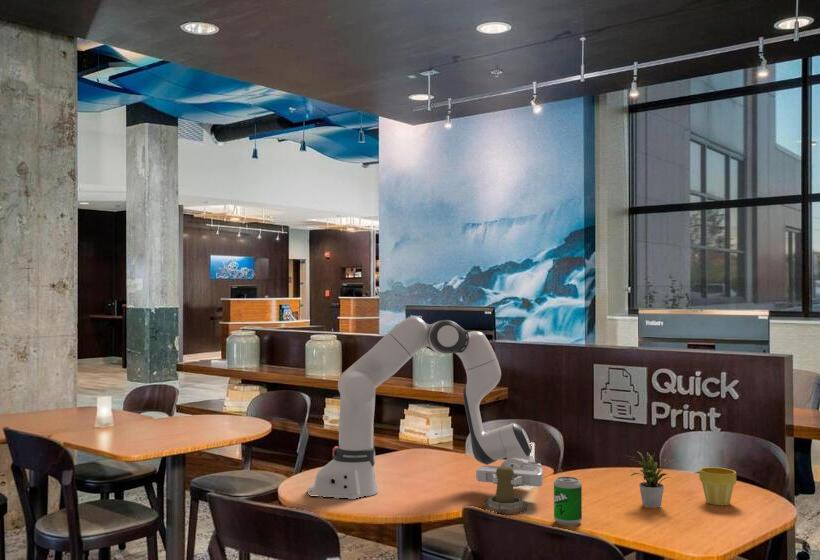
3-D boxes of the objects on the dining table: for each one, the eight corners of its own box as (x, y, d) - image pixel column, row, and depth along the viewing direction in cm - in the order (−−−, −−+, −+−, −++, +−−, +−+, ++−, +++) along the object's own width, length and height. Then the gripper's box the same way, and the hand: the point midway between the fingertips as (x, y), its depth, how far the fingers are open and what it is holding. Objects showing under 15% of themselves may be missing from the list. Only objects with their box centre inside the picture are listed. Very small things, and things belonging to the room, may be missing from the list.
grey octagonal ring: (484, 514, 219) (484, 505, 219) (481, 502, 232) (481, 493, 232) (529, 514, 218) (529, 505, 218) (524, 502, 231) (524, 494, 231)
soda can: (577, 518, 214) (577, 475, 215) (584, 526, 207) (584, 482, 207) (551, 518, 214) (551, 475, 214) (557, 526, 207) (557, 482, 207)
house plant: (613, 501, 233) (613, 447, 233) (651, 496, 238) (650, 444, 238) (643, 513, 219) (643, 456, 220) (682, 508, 224) (681, 453, 225)
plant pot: (718, 497, 237) (718, 465, 238) (744, 505, 228) (744, 472, 228) (692, 500, 234) (691, 468, 234) (717, 508, 224) (716, 475, 224)
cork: (515, 507, 222) (515, 469, 222) (494, 506, 222) (494, 468, 223) (515, 502, 228) (515, 465, 228) (494, 501, 228) (494, 464, 229)
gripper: (481, 459, 241) (470, 468, 228) (546, 463, 234) (538, 473, 221) (481, 479, 241) (470, 489, 228) (546, 484, 234) (538, 495, 221)
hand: (504, 481), depth 224 cm, fingers closed on cork, 4 cm apart
